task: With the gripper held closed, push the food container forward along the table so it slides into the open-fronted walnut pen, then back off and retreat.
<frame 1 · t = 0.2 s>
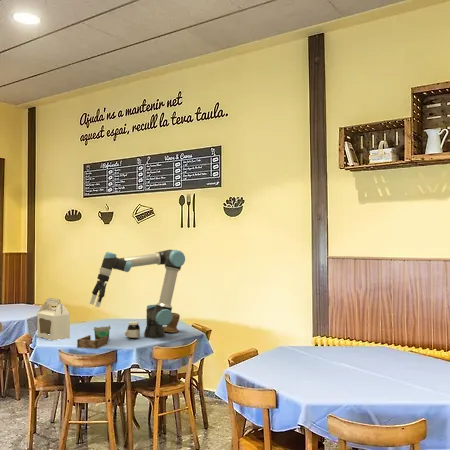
hand: (94, 305, 333), 28 cm above the table, tool tilted 20°, fingers open, 13 cm apart
gable box: (53, 337, 363), on the table
walnut pen: (92, 345, 337), on the table
food container: (103, 341, 351), on the table
brown ankle boot: (170, 332, 383), on the table
spread jar: (131, 338, 361), on the table
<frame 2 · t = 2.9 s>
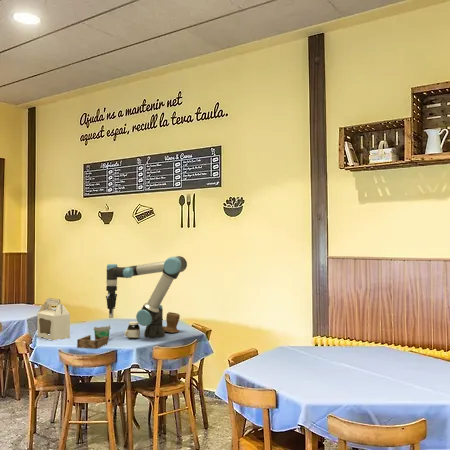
hand: (111, 317, 363), 14 cm above the table, tool pointing down, fingers closed
nothing on the table moved.
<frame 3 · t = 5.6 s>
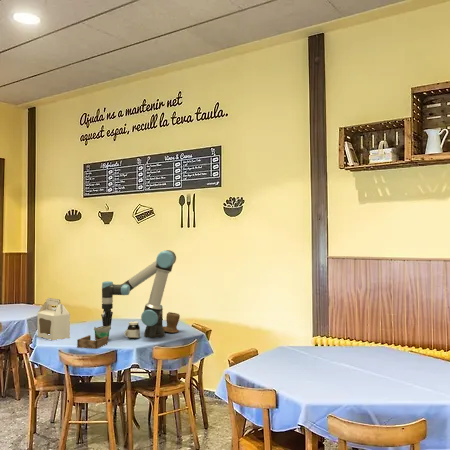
hand: (106, 336, 357), 2 cm above the table, tool pointing down, fingers closed
food container: (103, 340, 351), on the table, touching gripper
everything else where it was.
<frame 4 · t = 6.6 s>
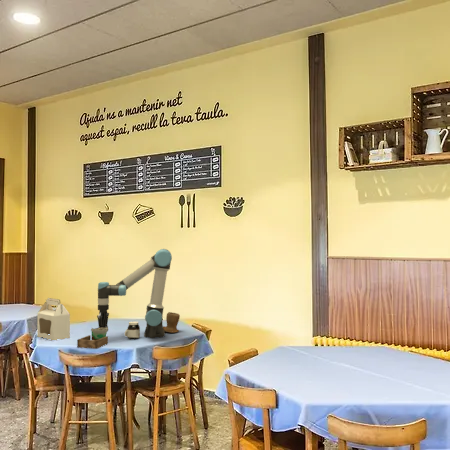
hand: (102, 337, 352), 2 cm above the table, tool pointing down, fingers closed
food container: (99, 342, 346), on the table, touching gripper, hand
everything else where it was.
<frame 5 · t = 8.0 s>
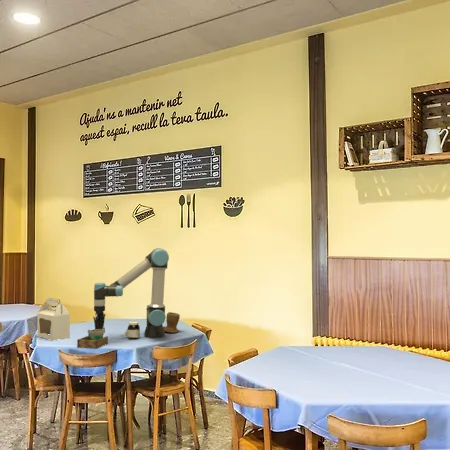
hand: (99, 339, 347), 2 cm above the table, tool pointing down, fingers closed
food container: (96, 343, 342), on the table, touching gripper, hand
everything else where it was.
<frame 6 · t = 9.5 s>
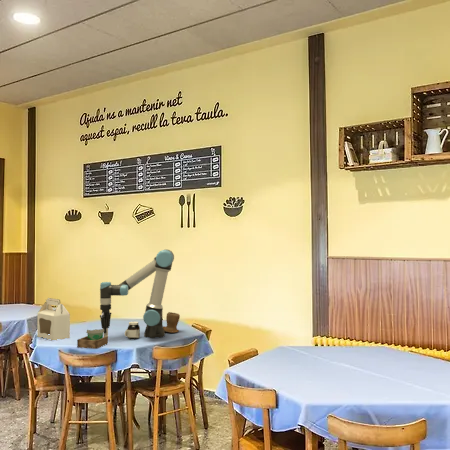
hand: (105, 337, 354), 2 cm above the table, tool pointing down, fingers closed
food container: (96, 344, 342), on the table
everything else where it was.
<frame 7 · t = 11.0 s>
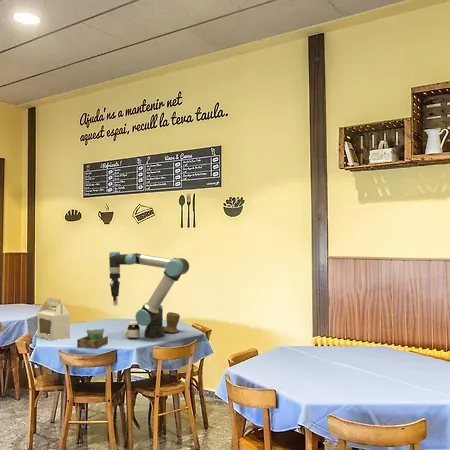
hand: (115, 305, 364), 23 cm above the table, tool pointing down, fingers closed
nothing on the table moved.
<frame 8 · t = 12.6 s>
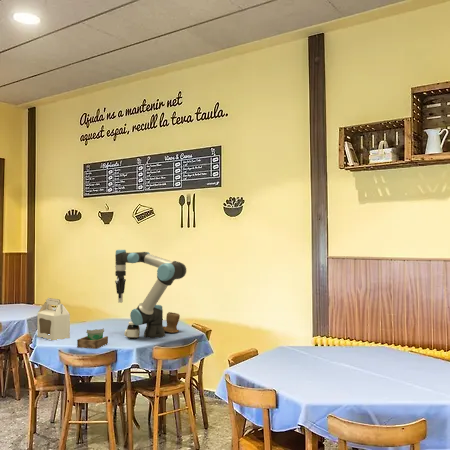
hand: (120, 302, 370), 24 cm above the table, tool pointing down, fingers closed
spread jar: (131, 338, 361), on the table, touching arm
everything else where it was.
at the end: food container inside the target area (4.5 cm from its centre), on the table; food container tilted 0°; food container moved 10.0 cm from its start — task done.
